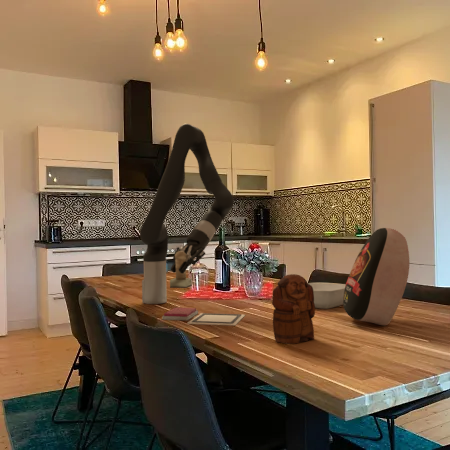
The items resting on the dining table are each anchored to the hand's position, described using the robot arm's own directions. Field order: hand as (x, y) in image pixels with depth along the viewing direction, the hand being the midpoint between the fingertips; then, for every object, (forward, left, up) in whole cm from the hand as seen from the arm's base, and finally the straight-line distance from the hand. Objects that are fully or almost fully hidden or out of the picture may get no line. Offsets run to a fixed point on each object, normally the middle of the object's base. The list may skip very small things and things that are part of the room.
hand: (176, 271), depth 160 cm
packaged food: (+66, +2, -16) cm, 68 cm away
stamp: (+1, +2, -6) cm, 6 cm away
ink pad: (+1, +1, -16) cm, 16 cm away
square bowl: (+48, +31, -16) cm, 59 cm away
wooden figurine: (+43, -25, -16) cm, 52 cm away
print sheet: (+15, -2, -16) cm, 22 cm away
